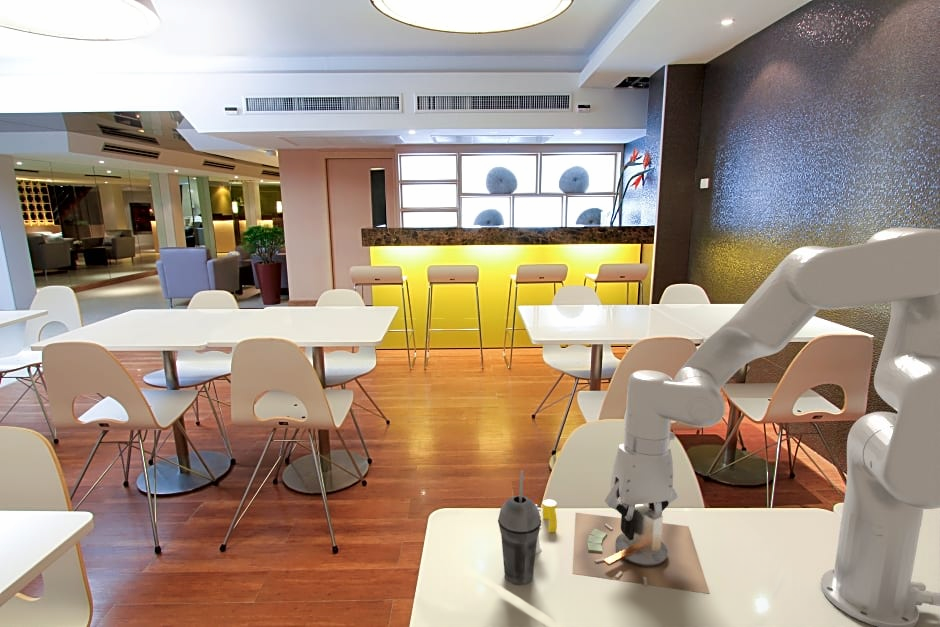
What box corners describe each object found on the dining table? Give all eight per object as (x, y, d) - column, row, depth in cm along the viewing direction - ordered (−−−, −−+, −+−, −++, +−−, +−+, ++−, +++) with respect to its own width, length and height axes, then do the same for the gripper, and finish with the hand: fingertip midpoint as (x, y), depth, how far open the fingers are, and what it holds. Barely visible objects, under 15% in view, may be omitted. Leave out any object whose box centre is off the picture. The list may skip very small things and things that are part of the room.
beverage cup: (492, 590, 86) (492, 480, 82) (504, 563, 93) (505, 461, 89) (534, 601, 84) (536, 488, 80) (543, 572, 90) (546, 467, 87)
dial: (637, 530, 100) (639, 491, 98) (677, 555, 92) (680, 513, 91) (587, 554, 93) (589, 513, 91) (626, 584, 85) (629, 539, 84)
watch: (560, 538, 100) (560, 511, 99) (546, 539, 100) (546, 512, 98) (552, 521, 106) (552, 494, 105) (538, 522, 105) (539, 495, 104)
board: (688, 531, 102) (688, 524, 102) (709, 601, 83) (710, 593, 83) (575, 517, 107) (575, 510, 106) (572, 581, 88) (572, 572, 88)
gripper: (676, 428, 96) (667, 517, 99) (592, 435, 92) (587, 527, 96) (701, 446, 88) (691, 541, 92) (612, 454, 85) (605, 552, 88)
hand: (638, 533), depth 94 cm, fingers closed on dial, 3 cm apart
